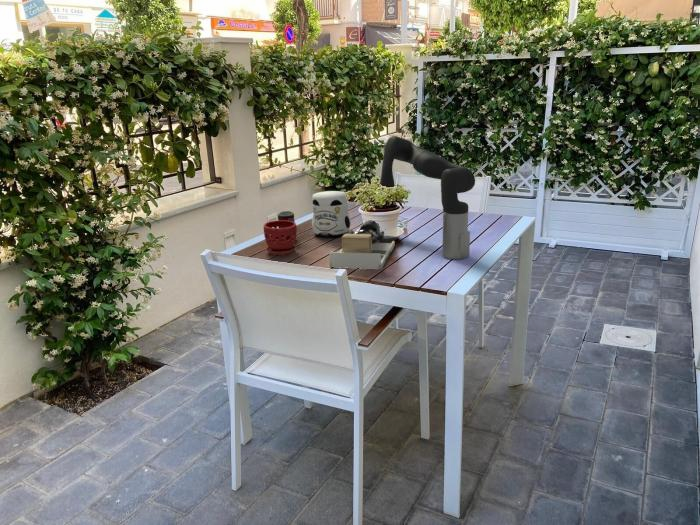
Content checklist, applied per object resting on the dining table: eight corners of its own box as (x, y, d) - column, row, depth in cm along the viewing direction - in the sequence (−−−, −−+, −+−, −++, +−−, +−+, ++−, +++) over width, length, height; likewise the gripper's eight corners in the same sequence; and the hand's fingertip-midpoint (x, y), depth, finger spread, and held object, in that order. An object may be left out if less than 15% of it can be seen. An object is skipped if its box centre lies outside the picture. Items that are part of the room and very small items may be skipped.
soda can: (299, 238, 236) (297, 211, 232) (289, 242, 231) (287, 215, 227) (286, 236, 240) (284, 210, 236) (276, 241, 234) (273, 213, 230)
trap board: (349, 244, 225) (349, 230, 223) (394, 245, 220) (394, 231, 218) (329, 267, 197) (329, 252, 196) (380, 270, 193) (380, 254, 191)
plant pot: (268, 258, 211) (265, 229, 207) (263, 249, 223) (261, 221, 219) (301, 254, 214) (299, 225, 210) (295, 245, 226) (292, 218, 222)
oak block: (346, 259, 202) (344, 233, 199) (372, 260, 200) (371, 234, 196) (342, 263, 197) (341, 237, 194) (369, 264, 195) (368, 238, 192)
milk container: (318, 241, 231) (315, 200, 225) (308, 231, 247) (305, 192, 241) (356, 236, 236) (354, 195, 230) (344, 227, 252) (342, 189, 246)
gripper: (353, 220, 219) (343, 231, 204) (387, 221, 216) (380, 232, 201) (353, 238, 222) (344, 250, 207) (387, 239, 218) (380, 251, 203)
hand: (361, 241), depth 204 cm, fingers open, 8 cm apart
